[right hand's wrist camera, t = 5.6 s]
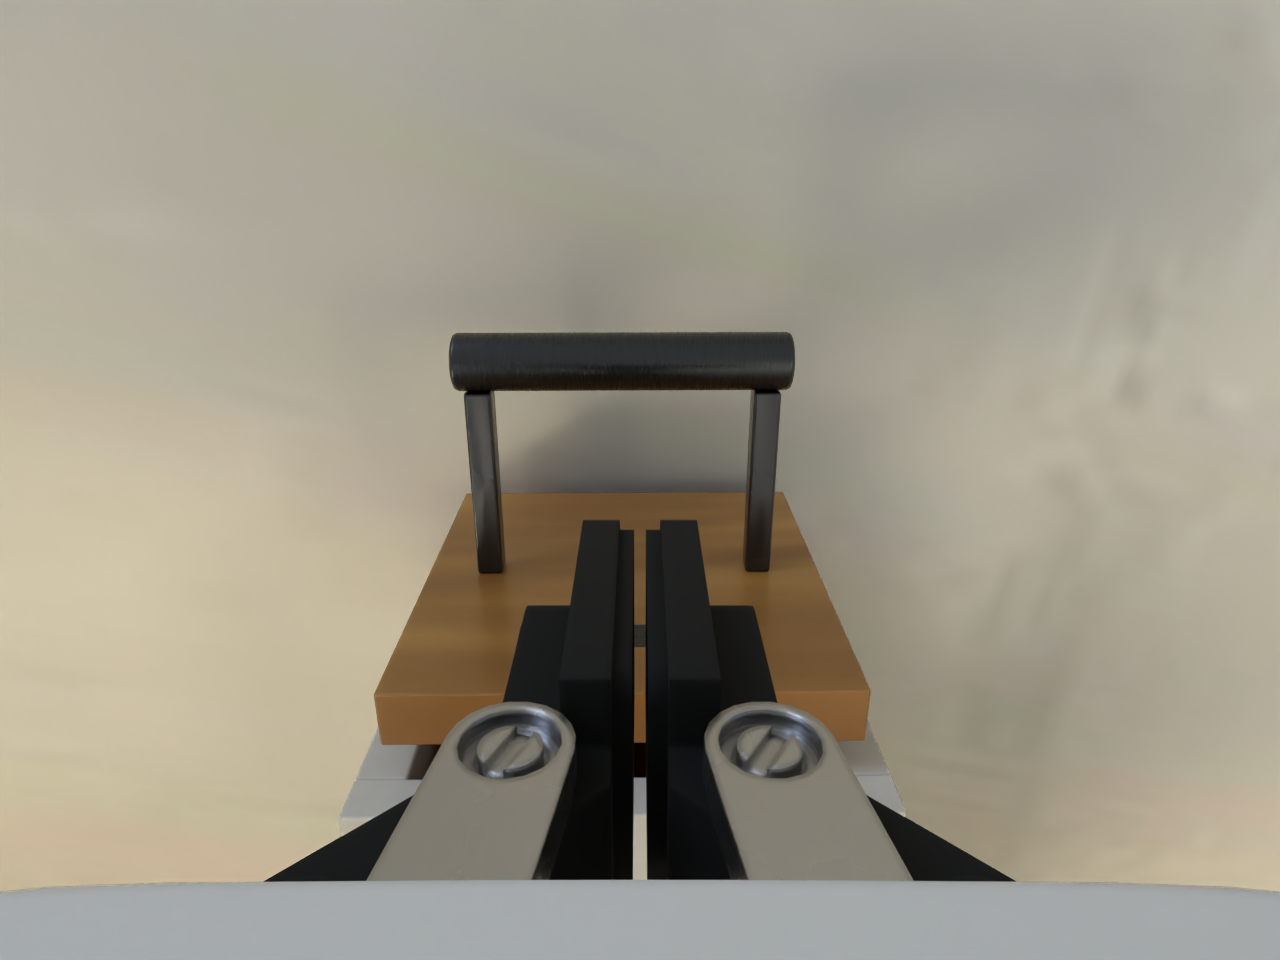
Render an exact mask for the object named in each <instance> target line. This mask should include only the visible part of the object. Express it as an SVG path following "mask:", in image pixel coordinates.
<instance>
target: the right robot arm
mask: <svg viewBox="0 0 1280 960" xmlns="http://www.w3.org/2000/svg"><path fill="white" fill-rule="evenodd" d="M634 712H635V650H634V530H620V520H583V523H582V530H581V536H580V543H579V549H578V556H577V563H576V569H575V576H574V583H573V589H572V596H571V602H570V605H528V606H527V607H526V610H525V613H524V617H523V621H522V625H521V629H520V633H519V637H518V642H517V646H516V650H515V654H514V658H513V662H512V666H511V670H510V674H509V678H508V682H507V686H506V691H505V695H504V699H503V703H500V704H495V705H489V706H487V707H484V708H482V709H480V710H477V711H475V712H472V713H470V714H469V715H468V716H466V717H465V718H463V719H462V720H460V721H459V722H458V723H456V725H455V726H454V727H453V728H452V730H451V731H450V732H449V733H448V735H447V736H446V738H445V740H444V741H443V743H442V745H441V747H440V749H439V750H438V752H437V754H436V756H435V758H434V759H433V761H432V763H431V765H430V767H429V768H428V770H427V772H426V774H425V776H424V777H423V779H422V781H421V783H420V785H419V786H418V788H417V790H416V792H415V794H414V795H413V796H411V797H409V798H407V799H406V800H404V801H402V802H400V803H399V804H397V805H395V806H394V807H392V808H390V809H388V810H387V811H385V812H383V813H381V814H380V815H378V816H376V817H374V818H373V819H371V820H369V821H368V822H366V823H364V824H362V825H361V826H359V827H357V828H355V829H354V830H352V831H350V832H349V833H347V834H345V835H343V836H342V837H340V838H338V839H336V840H335V841H333V842H331V843H329V844H328V845H326V846H324V847H323V848H321V849H319V850H317V851H316V852H314V853H312V854H310V855H309V856H307V857H305V858H304V859H302V860H300V861H298V862H297V863H295V864H293V865H291V866H290V867H288V868H286V869H284V870H283V871H281V872H279V873H278V874H276V875H274V876H272V877H271V878H269V879H267V880H265V881H264V882H166V883H139V884H111V885H84V886H57V887H42V888H32V889H22V890H13V891H3V892H0V960H1280V892H1277V891H1267V890H1257V889H1248V888H1238V887H1223V886H1196V885H1169V884H1141V883H1114V882H1016V881H1015V880H1013V879H1011V878H1009V877H1008V876H1006V875H1004V874H1002V873H1001V872H999V871H997V870H996V869H994V868H992V867H990V866H989V865H987V864H985V863H983V862H982V861H980V860H978V859H976V858H975V857H973V856H971V855H970V854H968V853H966V852H964V851H963V850H961V849H959V848H957V847H956V846H954V845H952V844H951V843H949V842H947V841H945V840H944V839H942V838H940V837H938V836H937V835H935V834H933V833H931V832H930V831H928V830H926V829H925V828H923V827H921V826H919V825H918V824H916V823H914V822H912V821H911V820H909V819H907V818H906V817H904V816H902V815H900V814H899V813H897V812H895V811H893V810H892V809H890V808H888V807H886V806H885V805H883V804H881V803H880V802H878V801H876V800H874V799H873V798H871V797H869V796H867V795H866V794H865V792H864V790H863V788H862V786H861V785H860V783H859V781H858V779H857V777H856V776H855V774H854V772H853V770H852V768H851V767H850V765H849V763H848V761H847V759H846V758H845V756H844V754H843V752H842V750H841V749H840V747H839V745H838V743H837V741H836V740H835V738H834V736H833V735H832V733H831V732H830V731H829V730H828V728H827V727H826V726H825V725H824V723H822V722H821V721H820V720H818V719H817V718H815V717H814V716H812V715H811V714H810V713H808V712H805V711H803V710H800V709H798V708H796V707H793V706H791V705H785V704H780V703H777V699H776V695H775V691H774V686H773V682H772V678H771V674H770V670H769V666H768V662H767V658H766V654H765V650H764V646H763V642H762V637H761V633H760V629H759V625H758V621H757V617H756V613H755V610H754V607H753V606H752V605H710V602H709V596H708V589H707V583H706V576H705V569H704V563H703V556H702V549H701V543H700V536H699V530H698V523H697V520H660V530H646V650H645V712H646V815H647V880H633V816H634Z"/></svg>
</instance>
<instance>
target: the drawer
mask: <svg viewBox="0 0 1280 960" xmlns="http://www.w3.org/2000/svg"><path fill="white" fill-rule="evenodd" d="M449 370H450V377H451V381H452V384H453V387H454V388H455V389H456V390H458V391H466V392H465V394H464V403H465V416H466V428H467V440H468V453H469V465H470V477H471V490H472V494H466V496H465V498H464V500H463V503H462V505H461V507H460V509H459V511H458V513H457V516H456V518H455V520H454V522H453V524H452V526H451V529H450V531H449V533H448V535H447V537H446V539H445V542H444V544H443V546H442V548H441V550H440V552H439V555H438V557H437V559H436V561H435V563H434V565H433V568H432V570H431V572H430V574H429V576H428V578H427V581H426V583H425V585H424V587H423V589H422V591H421V594H420V596H419V598H418V600H417V602H416V604H415V607H414V609H413V611H412V613H411V615H410V617H409V620H408V622H407V624H406V626H405V628H404V630H403V633H402V635H401V637H400V639H399V641H398V643H397V646H396V648H395V650H394V652H393V654H392V656H391V659H390V661H389V663H388V665H387V667H386V669H385V672H384V674H383V676H382V678H381V680H380V682H379V685H378V687H377V689H376V691H375V693H374V699H375V706H376V713H377V720H378V727H379V734H380V741H381V744H382V745H437V744H442V743H443V741H444V740H445V738H446V736H447V735H448V733H449V732H450V731H451V730H452V728H453V727H454V726H455V725H456V723H458V722H459V721H460V720H462V719H463V718H465V717H466V716H468V715H469V714H470V713H472V712H475V711H477V710H480V709H482V708H484V707H487V706H489V705H495V704H500V703H503V699H504V695H505V691H506V686H507V682H508V678H509V674H510V670H511V666H512V662H513V658H514V654H515V650H516V646H517V642H518V637H519V633H520V629H521V625H522V621H523V617H524V613H525V610H526V607H527V606H528V605H570V602H571V596H572V589H573V583H574V576H575V569H576V563H577V556H578V549H579V543H580V536H581V530H582V523H583V520H620V530H634V650H635V712H634V778H646V712H645V650H646V530H660V520H697V523H698V530H699V536H700V543H701V549H702V556H703V563H704V569H705V576H706V583H707V589H708V596H709V602H710V605H752V606H753V607H754V610H755V613H756V617H757V621H758V625H759V629H760V633H761V637H762V642H763V646H764V650H765V654H766V658H767V662H768V666H769V670H770V674H771V678H772V682H773V686H774V691H775V695H776V699H777V703H780V704H785V705H791V706H793V707H796V708H798V709H800V710H803V711H805V712H808V713H810V714H811V715H812V716H814V717H815V718H817V719H818V720H820V721H821V722H822V723H824V725H825V726H826V727H827V728H828V730H829V731H830V732H831V733H832V735H833V736H834V738H835V740H836V741H863V740H864V739H865V733H866V725H867V716H868V708H869V700H870V692H871V691H870V688H869V686H868V684H867V681H866V679H865V677H864V675H863V672H862V670H861V668H860V665H859V663H858V661H857V659H856V656H855V654H854V652H853V650H852V647H851V645H850V643H849V641H848V638H847V636H846V634H845V632H844V629H843V627H842V625H841V623H840V620H839V618H838V616H837V614H836V611H835V609H834V607H833V605H832V602H831V600H830V598H829V595H828V593H827V591H826V589H825V586H824V584H823V582H822V580H821V577H820V575H819V573H818V571H817V568H816V566H815V564H814V562H813V559H812V557H811V555H810V553H809V550H808V548H807V546H806V544H805V541H804V539H803V537H802V535H801V532H800V530H799V528H798V526H797V523H796V521H795V519H794V516H793V514H792V512H791V510H790V507H789V505H788V503H787V501H786V498H785V496H784V494H783V492H775V480H776V465H777V449H778V434H779V419H780V403H781V393H780V391H779V390H786V389H789V388H790V387H791V384H792V381H793V377H794V370H795V347H794V341H793V338H792V335H791V334H790V333H788V332H646V333H456V334H454V335H453V336H452V339H451V342H450V347H449ZM588 390H751V403H750V423H749V442H748V462H747V482H746V492H697V493H505V494H501V484H500V469H499V454H498V439H497V424H496V409H495V395H494V391H588Z"/></svg>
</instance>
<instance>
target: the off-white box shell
mask: <svg viewBox="0 0 1280 960" xmlns="http://www.w3.org/2000/svg"><path fill="white" fill-rule="evenodd" d="M837 743H838V745H839V747H840V749H841V750H842V752H843V754H844V756H845V758H846V759H847V761H848V763H849V765H850V767H851V768H852V770H853V772H854V774H855V776H856V777H857V779H858V781H859V783H860V785H861V786H862V788H863V790H864V792H865V794H866V795H867V796H869V797H871V798H873V799H874V800H876V801H878V802H880V803H881V804H883V805H885V806H886V807H888V808H890V809H892V810H893V811H895V812H897V813H899V814H900V815H902V816H904V817H906V811H905V808H904V806H903V804H902V801H901V799H900V796H899V794H898V791H897V789H896V787H895V784H894V782H893V779H892V777H891V776H890V773H889V770H888V768H887V765H886V763H885V761H884V758H883V756H882V753H881V751H880V749H879V746H878V744H877V741H876V739H875V737H874V734H873V732H872V729H871V727H870V725H869V722H868V720H867V725H866V733H865V739H864V740H863V741H837ZM441 745H442V744H437V745H382V744H381V741H380V734H379V727H378V728H377V731H376V733H375V735H374V738H373V740H372V742H371V745H370V747H369V749H368V752H367V754H366V756H365V759H364V761H363V763H362V766H361V768H360V770H359V773H358V775H357V777H356V781H355V782H354V784H353V786H352V789H351V791H350V793H349V795H348V798H347V800H346V802H345V805H344V807H343V809H342V812H341V814H340V816H339V823H340V829H341V835H342V836H343V835H345V834H347V833H349V832H350V831H352V830H354V829H355V828H357V827H359V826H361V825H362V824H364V823H366V822H368V821H369V820H371V819H373V818H374V817H376V816H378V815H380V814H381V813H383V812H385V811H387V810H388V809H390V808H392V807H394V806H395V805H397V804H399V803H400V802H402V801H404V800H406V799H407V798H409V797H411V796H413V795H414V794H415V792H416V790H417V788H418V786H419V785H420V783H421V781H422V779H423V777H424V776H425V774H426V772H427V770H428V768H429V767H430V765H431V763H432V761H433V759H434V758H435V756H436V754H437V752H438V750H439V749H440V747H441ZM633 880H647V815H646V778H634V816H633Z"/></svg>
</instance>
